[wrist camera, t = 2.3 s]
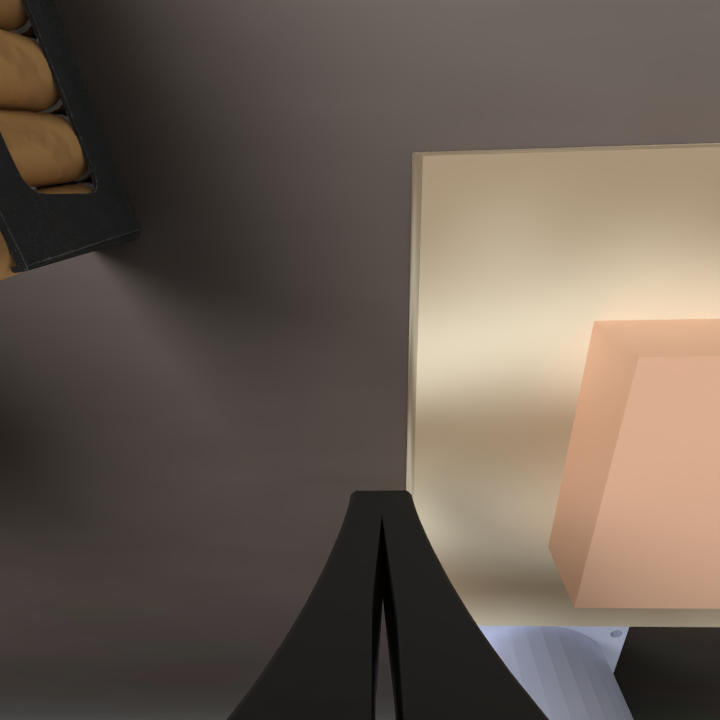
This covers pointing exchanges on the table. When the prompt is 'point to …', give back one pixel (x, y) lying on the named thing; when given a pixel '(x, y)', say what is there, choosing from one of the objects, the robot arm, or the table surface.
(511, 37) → the table surface
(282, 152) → the table surface
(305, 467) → the table surface
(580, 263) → the riser
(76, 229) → the ammunition clip
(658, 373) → the peach flat block
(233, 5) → the table surface
